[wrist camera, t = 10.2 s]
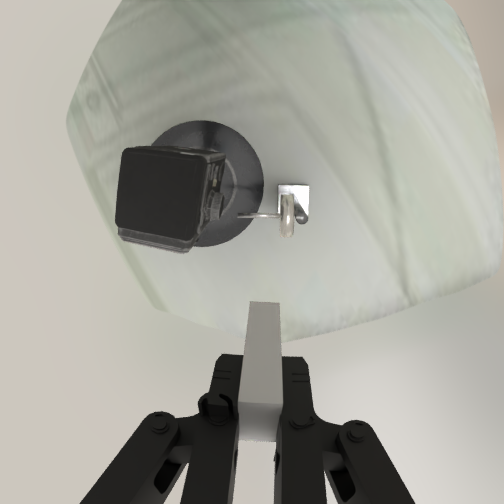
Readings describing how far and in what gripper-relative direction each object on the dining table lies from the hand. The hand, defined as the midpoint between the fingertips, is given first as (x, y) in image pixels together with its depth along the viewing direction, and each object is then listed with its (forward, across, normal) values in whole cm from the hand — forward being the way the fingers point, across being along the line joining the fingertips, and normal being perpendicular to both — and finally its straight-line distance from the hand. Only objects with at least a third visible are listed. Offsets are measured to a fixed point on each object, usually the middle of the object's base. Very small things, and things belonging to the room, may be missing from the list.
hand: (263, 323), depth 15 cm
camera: (+26, -10, +3) cm, 28 cm away
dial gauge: (+26, +1, +2) cm, 26 cm away
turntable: (+26, -10, +3) cm, 28 cm away
